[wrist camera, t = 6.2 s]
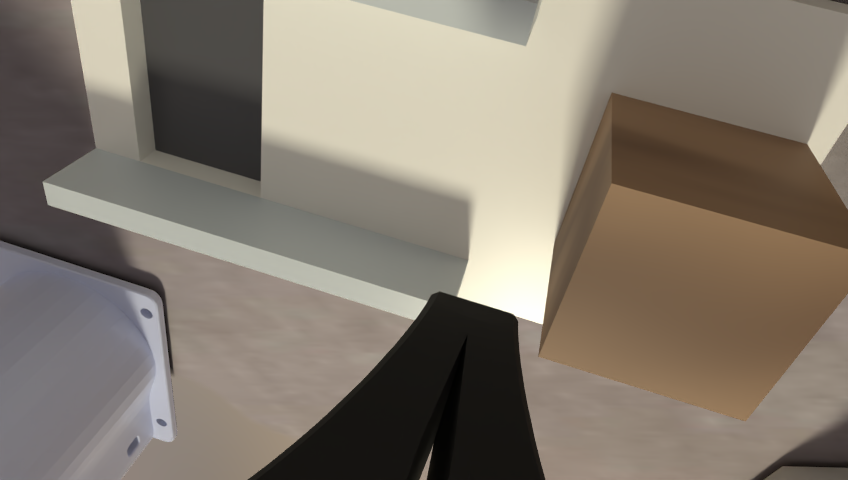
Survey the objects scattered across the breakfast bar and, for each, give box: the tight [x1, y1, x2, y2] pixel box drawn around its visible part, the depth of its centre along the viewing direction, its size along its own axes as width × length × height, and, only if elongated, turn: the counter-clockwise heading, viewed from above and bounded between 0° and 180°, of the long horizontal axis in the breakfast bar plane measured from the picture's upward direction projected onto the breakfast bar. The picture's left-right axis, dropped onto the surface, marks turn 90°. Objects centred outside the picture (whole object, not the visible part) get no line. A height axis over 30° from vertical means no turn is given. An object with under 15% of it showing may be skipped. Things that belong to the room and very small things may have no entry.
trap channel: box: [43, 0, 848, 324], centre depth 15 cm, size 10×19×3 cm, turn 79°
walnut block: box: [538, 93, 848, 421], centre depth 13 cm, size 4×4×4 cm
